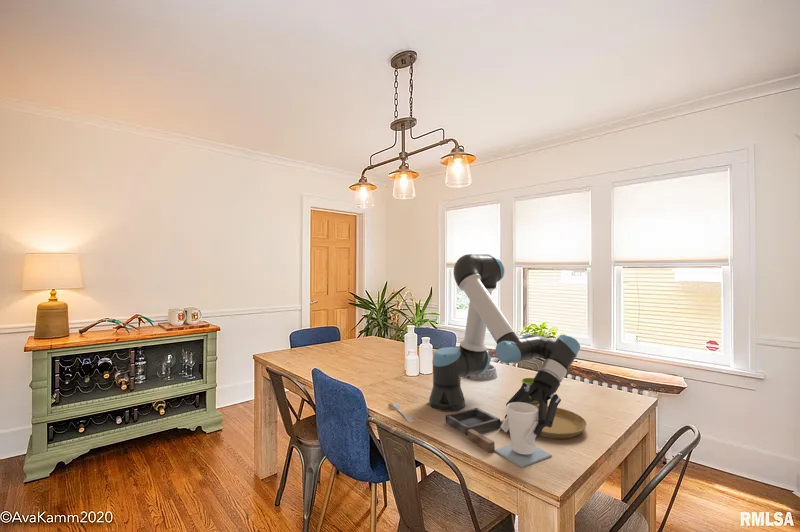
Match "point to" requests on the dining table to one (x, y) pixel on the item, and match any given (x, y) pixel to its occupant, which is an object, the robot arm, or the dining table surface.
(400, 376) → the dining table surface
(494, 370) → the dog bowl
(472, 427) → the track
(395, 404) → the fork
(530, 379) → the plant pot
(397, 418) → the dining table surface
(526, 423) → the foam cup
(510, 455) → the mat
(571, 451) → the dining table surface
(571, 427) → the plant saucer
